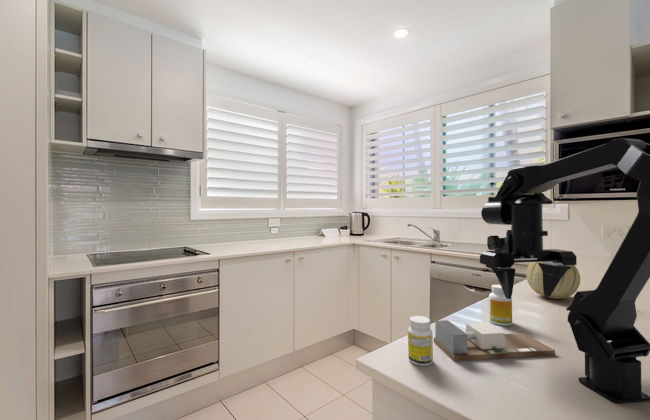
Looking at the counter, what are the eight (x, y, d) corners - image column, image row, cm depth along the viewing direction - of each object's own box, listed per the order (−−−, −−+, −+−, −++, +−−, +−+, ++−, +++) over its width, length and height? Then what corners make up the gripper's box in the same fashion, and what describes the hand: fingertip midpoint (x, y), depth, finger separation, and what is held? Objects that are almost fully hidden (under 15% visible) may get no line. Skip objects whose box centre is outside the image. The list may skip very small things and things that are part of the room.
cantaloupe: (520, 297, 105) (520, 253, 105) (532, 289, 115) (532, 249, 115) (576, 307, 94) (575, 258, 94) (584, 298, 104) (583, 253, 104)
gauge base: (523, 337, 73) (523, 332, 73) (555, 355, 64) (555, 349, 64) (433, 341, 71) (433, 336, 71) (453, 361, 62) (453, 355, 62)
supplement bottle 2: (515, 327, 79) (515, 289, 79) (492, 325, 80) (492, 288, 80) (507, 319, 84) (507, 284, 84) (486, 318, 85) (486, 283, 85)
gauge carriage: (487, 336, 70) (486, 322, 70) (511, 352, 62) (511, 336, 62) (453, 338, 70) (453, 324, 70) (474, 354, 62) (473, 338, 62)
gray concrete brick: (448, 337, 70) (447, 320, 70) (467, 354, 63) (467, 334, 63) (435, 338, 70) (435, 320, 70) (453, 354, 62) (453, 335, 62)
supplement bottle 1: (414, 353, 65) (413, 313, 65) (436, 359, 62) (436, 318, 62) (404, 361, 62) (403, 319, 62) (427, 369, 59) (427, 325, 59)
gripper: (536, 223, 76) (537, 287, 76) (465, 225, 74) (466, 290, 74) (578, 225, 65) (579, 299, 65) (496, 227, 63) (497, 303, 63)
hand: (527, 297), depth 67 cm, fingers open, 9 cm apart
